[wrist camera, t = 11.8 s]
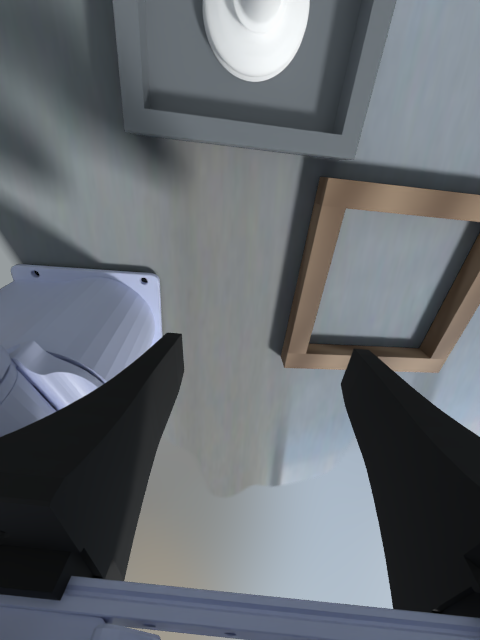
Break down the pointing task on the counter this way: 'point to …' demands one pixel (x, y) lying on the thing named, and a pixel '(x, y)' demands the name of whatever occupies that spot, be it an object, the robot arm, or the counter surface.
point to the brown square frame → (329, 207)
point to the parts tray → (244, 96)
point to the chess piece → (255, 34)
